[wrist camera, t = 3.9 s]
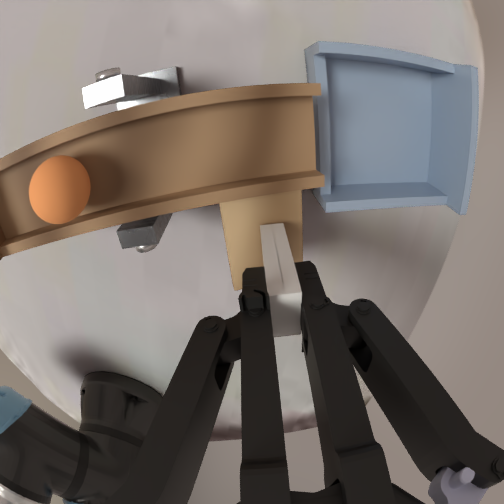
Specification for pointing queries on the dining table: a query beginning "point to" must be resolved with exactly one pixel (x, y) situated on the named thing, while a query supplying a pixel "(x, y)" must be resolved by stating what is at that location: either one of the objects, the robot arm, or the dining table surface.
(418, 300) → the dining table surface
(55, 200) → the ball
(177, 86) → the stand
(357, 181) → the tray
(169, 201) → the lever
